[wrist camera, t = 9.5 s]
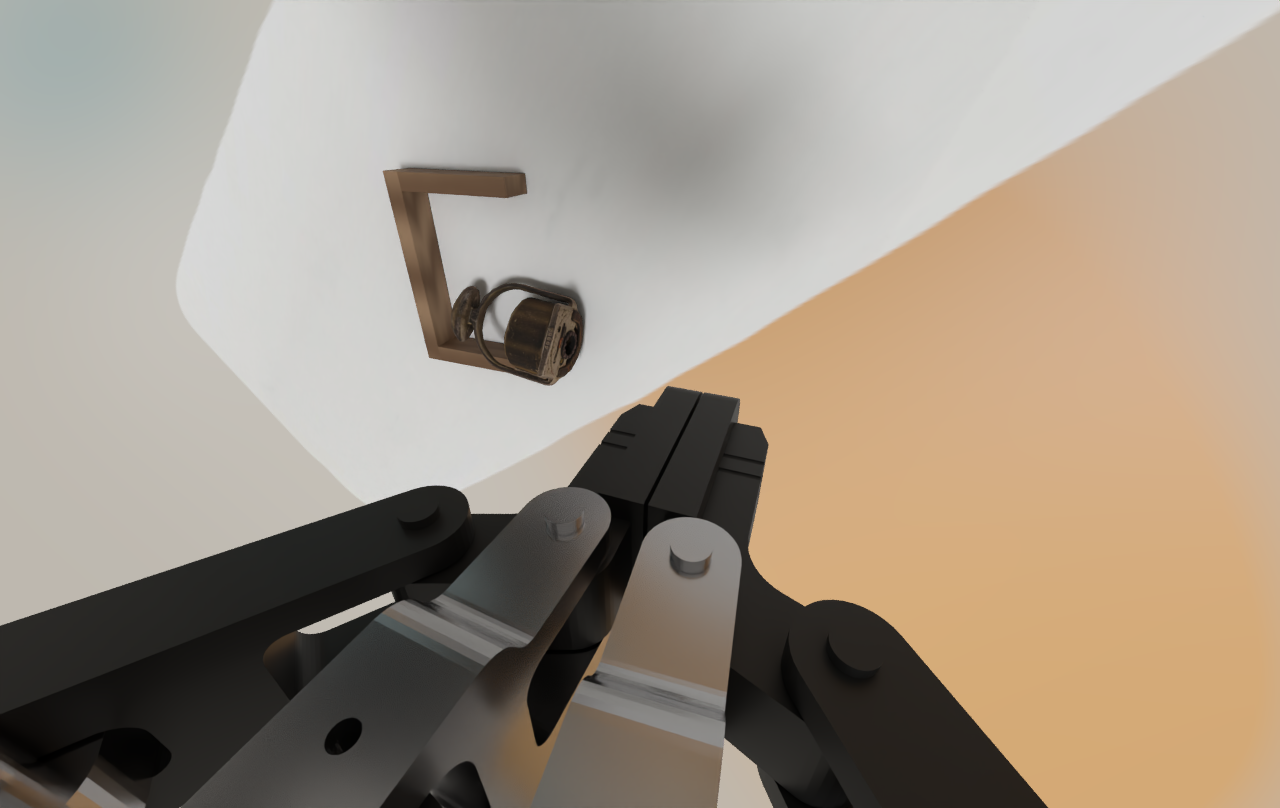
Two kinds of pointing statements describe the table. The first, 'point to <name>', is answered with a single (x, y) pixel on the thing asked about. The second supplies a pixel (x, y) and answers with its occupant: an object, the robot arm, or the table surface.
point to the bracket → (424, 253)
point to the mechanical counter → (526, 332)
